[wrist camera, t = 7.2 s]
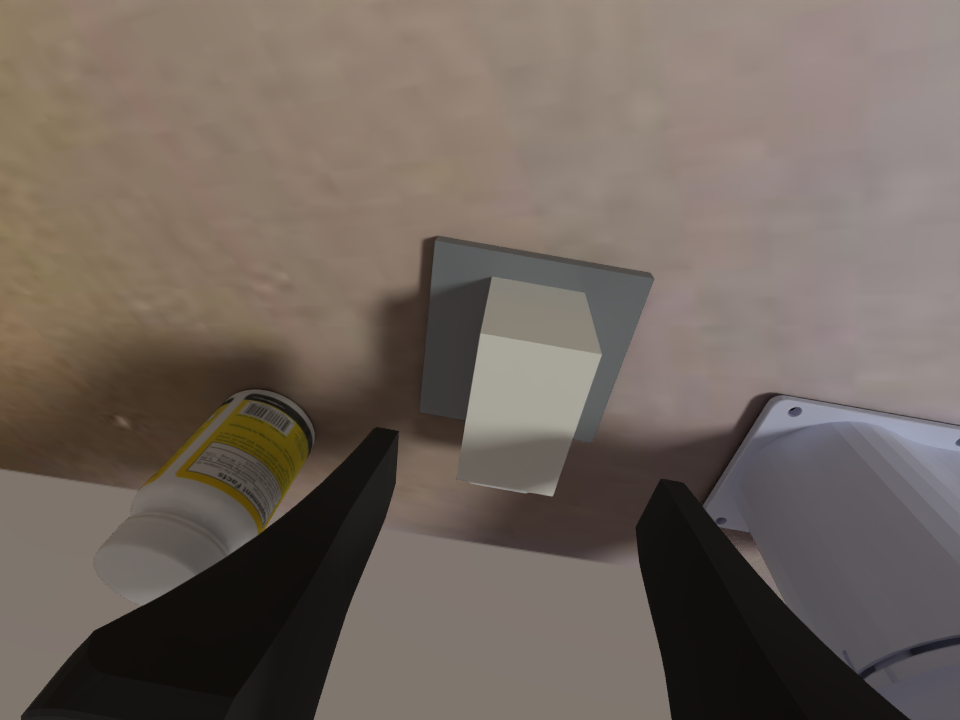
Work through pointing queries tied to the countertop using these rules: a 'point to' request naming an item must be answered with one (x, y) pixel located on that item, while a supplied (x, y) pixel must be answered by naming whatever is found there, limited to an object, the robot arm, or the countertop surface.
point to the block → (527, 386)
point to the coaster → (462, 307)
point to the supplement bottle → (208, 496)
